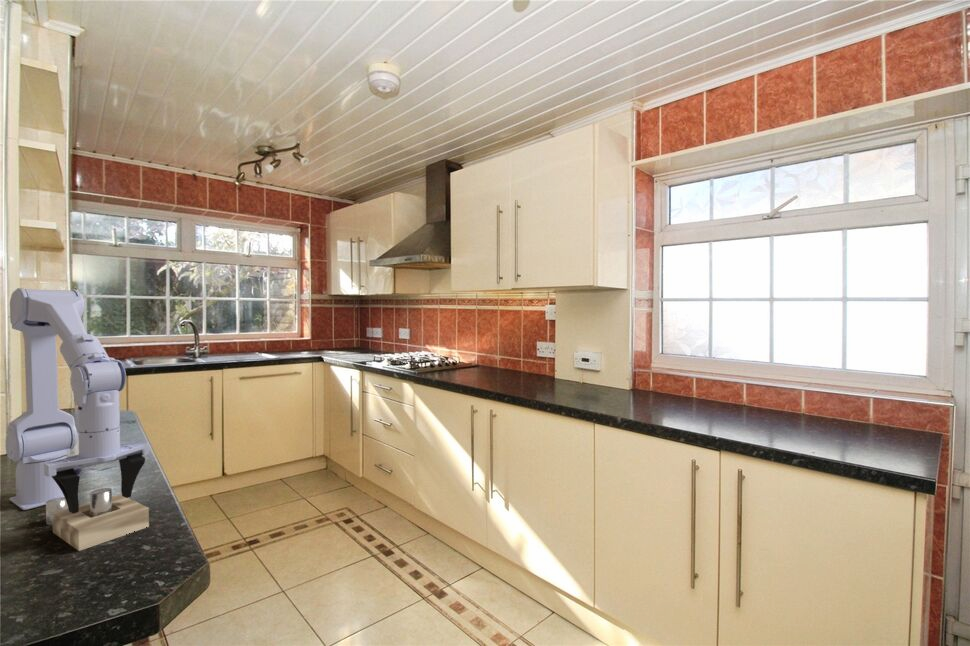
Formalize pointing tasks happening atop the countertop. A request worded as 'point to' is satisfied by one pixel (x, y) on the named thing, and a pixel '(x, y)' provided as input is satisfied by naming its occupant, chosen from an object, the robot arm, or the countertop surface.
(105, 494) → the long steel pin
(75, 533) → the birch board
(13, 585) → the countertop surface
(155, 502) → the countertop surface
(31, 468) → the robot arm
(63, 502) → the short steel pin
